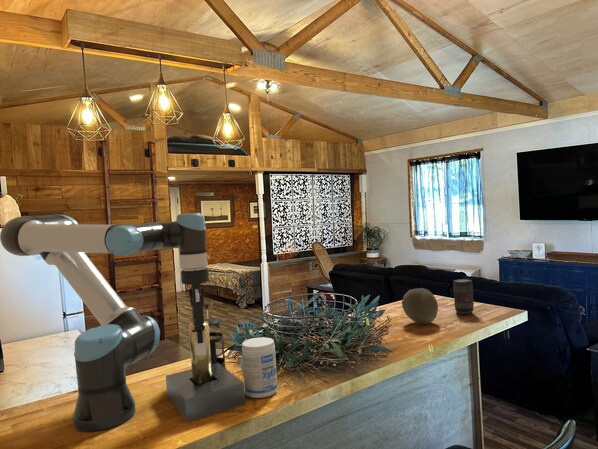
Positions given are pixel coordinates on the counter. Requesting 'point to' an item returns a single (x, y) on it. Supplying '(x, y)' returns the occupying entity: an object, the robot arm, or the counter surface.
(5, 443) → the counter surface
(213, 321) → the french press
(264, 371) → the supplement tub
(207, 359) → the end plug
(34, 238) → the robot arm
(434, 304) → the cantaloupe
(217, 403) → the housing
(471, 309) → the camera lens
